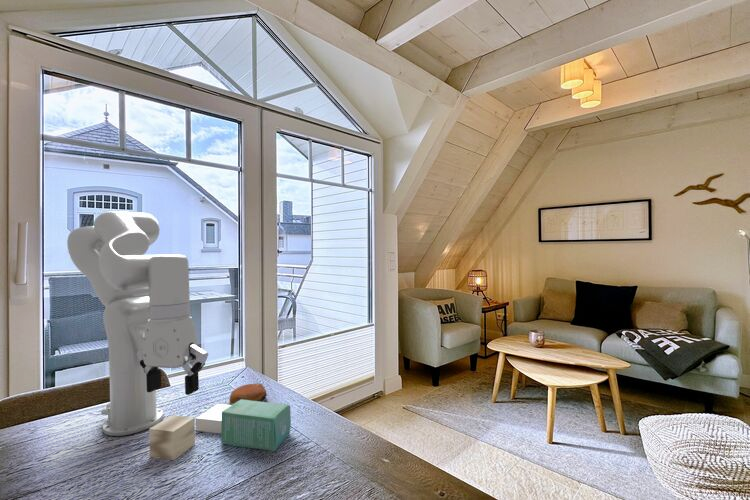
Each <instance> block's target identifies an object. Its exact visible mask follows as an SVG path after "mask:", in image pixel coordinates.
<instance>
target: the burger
mask: <svg viewBox="0 0 750 500" xmlns="http://www.w3.org/2000/svg"><path fill="white" fill-rule="evenodd" d="M267 396H268V393H267V390H266V388H265V387H264V386H263V384H261V383H249V384H244V385H241V386H238V387H237V388H235V389H233V390H232V392H231V393H230V395H229V402H228V403H229V404H228V405H233V404H234V403H236V402H237V401H239V400H240V399H243V400H251V401H259V402H265V400H266V399H267Z"/></svg>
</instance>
